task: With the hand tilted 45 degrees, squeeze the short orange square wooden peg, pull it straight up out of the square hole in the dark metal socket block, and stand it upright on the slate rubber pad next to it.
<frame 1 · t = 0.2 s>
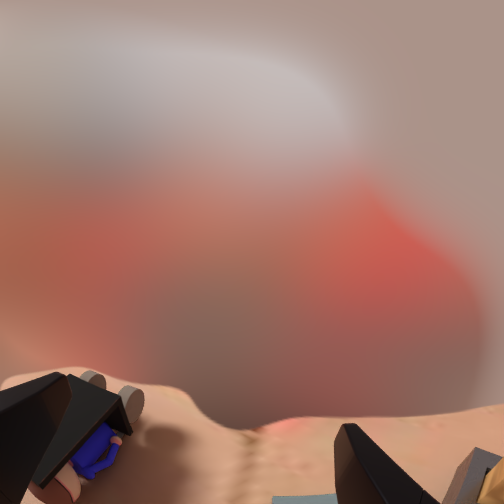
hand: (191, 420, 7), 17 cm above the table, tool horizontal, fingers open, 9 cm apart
figurine character: (89, 457, 17), on the table
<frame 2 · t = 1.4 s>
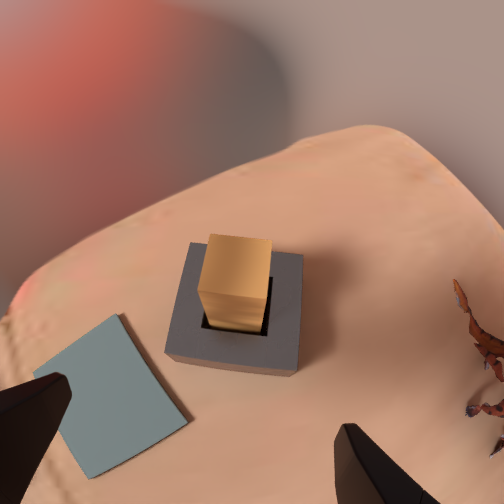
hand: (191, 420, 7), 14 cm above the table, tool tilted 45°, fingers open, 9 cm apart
socket block: (238, 317, 23), on the table
pad: (99, 399, 19), on the table
toy dinosaur: (492, 408, 17), on the table
peg: (237, 296, 19), in the socket block
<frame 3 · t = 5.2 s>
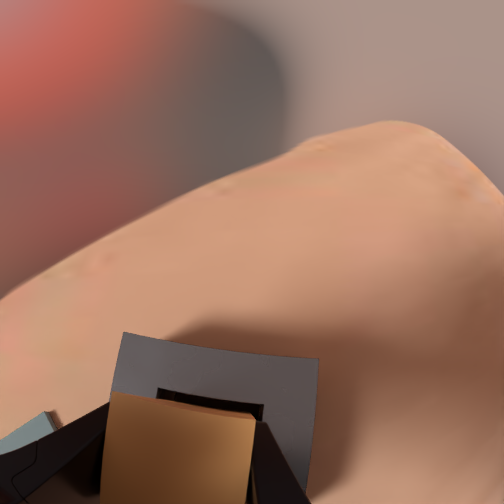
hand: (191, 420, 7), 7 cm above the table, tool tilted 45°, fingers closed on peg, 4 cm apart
socket block: (211, 438, 13), on the table
peg: (199, 450, 9), in the socket block, touching gripper
when the fingers open (9 cm above the table, at t = 10.8 s): peg stays where it is, resting on pad.
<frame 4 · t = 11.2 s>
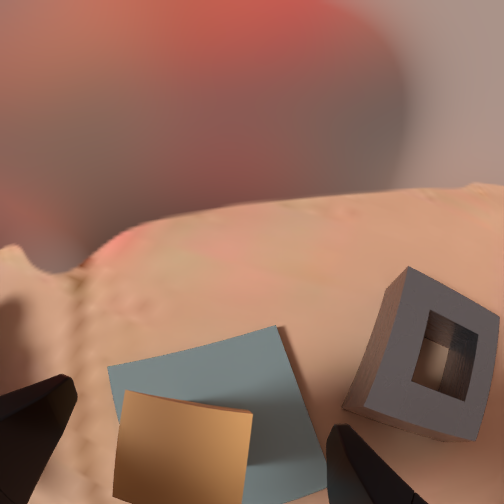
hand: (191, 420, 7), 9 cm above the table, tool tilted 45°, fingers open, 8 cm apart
socket block: (419, 367, 16), on the table
pad: (214, 435, 14), on the table
peg: (201, 444, 10), on the pad
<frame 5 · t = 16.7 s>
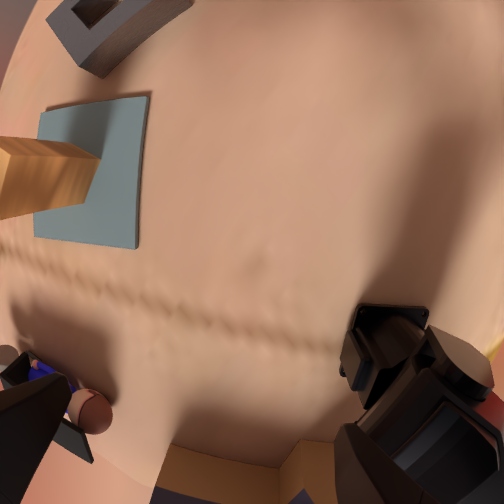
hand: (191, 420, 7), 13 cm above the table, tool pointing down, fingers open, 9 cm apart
toy building blocks: (252, 463, 25), on the table
socket block: (120, 16, 15), on the table
pad: (81, 172, 19), on the table
peg: (38, 173, 14), on the pad
figurine character: (63, 378, 24), on the table
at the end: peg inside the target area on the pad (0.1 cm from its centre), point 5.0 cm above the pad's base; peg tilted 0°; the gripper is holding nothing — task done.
